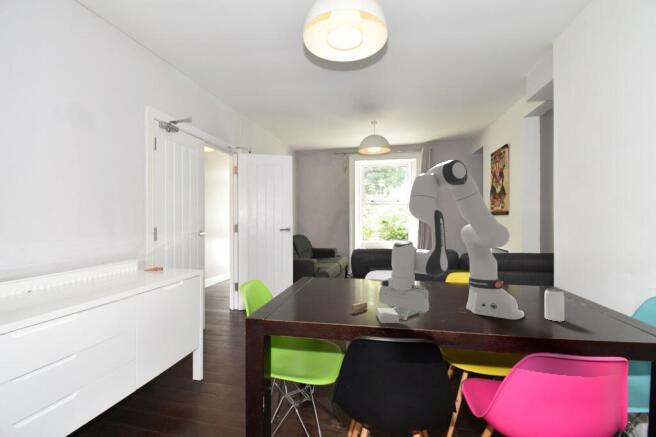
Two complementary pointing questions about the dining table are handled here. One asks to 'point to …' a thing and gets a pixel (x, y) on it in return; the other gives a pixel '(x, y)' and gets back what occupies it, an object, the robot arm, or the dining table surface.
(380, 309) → the slab
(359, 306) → the wooden brick
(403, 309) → the cradle
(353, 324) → the dining table surface
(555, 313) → the can
